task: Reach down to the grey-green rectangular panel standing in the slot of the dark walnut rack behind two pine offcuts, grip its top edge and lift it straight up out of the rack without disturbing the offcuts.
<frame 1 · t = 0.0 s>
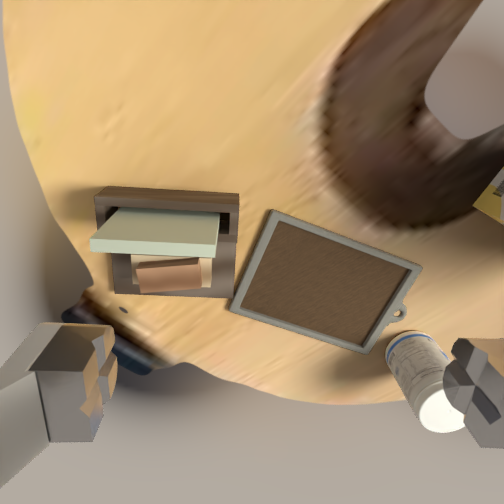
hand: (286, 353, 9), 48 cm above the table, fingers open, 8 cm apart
offcut upper: (171, 271, 57), point 4 cm above the table, touching offcut lower
grey-green rectangular panel: (174, 207, 57), resting in rack
rack: (174, 232, 58), on the table
supplement tub: (408, 348, 69), on the table
grey brown flat frame: (329, 287, 64), on the table
offcut lower: (174, 264, 59), point 1 cm above the table, touching offcut upper, rack
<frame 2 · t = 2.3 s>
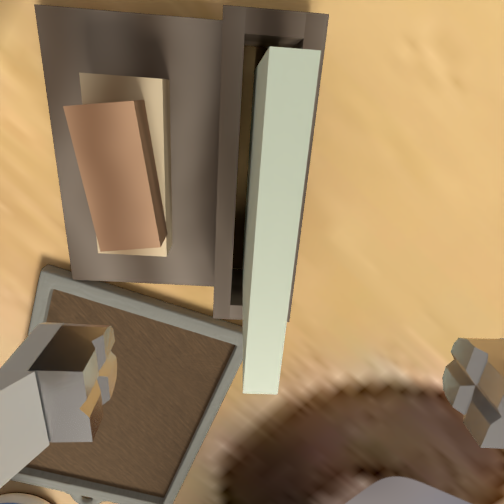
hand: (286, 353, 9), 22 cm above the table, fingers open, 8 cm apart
offcut upper: (127, 173, 25), point 4 cm above the table, touching offcut lower
grey-green rectangular panel: (258, 171, 29), resting in rack
rack: (206, 168, 29), on the table
grey brown flat frame: (117, 408, 39), on the table
offcut lower: (136, 166, 27), point 1 cm above the table, touching offcut upper, rack
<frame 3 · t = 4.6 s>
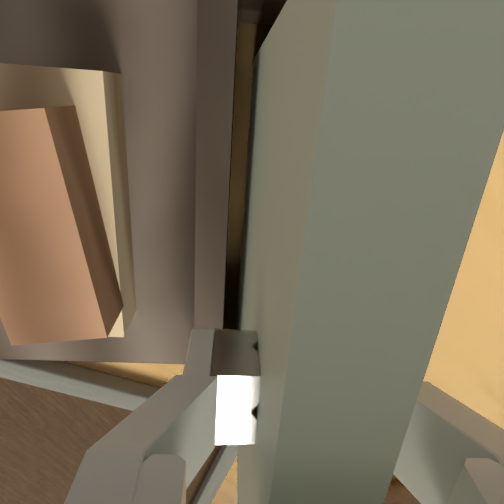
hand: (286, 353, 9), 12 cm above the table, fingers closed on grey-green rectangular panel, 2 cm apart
offcut upper: (55, 220, 16), point 4 cm above the table, touching offcut lower
grey-green rectangular panel: (258, 207, 20), resting in rack, touching gripper
rack: (183, 203, 20), on the table
offcut lower: (78, 204, 18), point 1 cm above the table, touching offcut upper, rack
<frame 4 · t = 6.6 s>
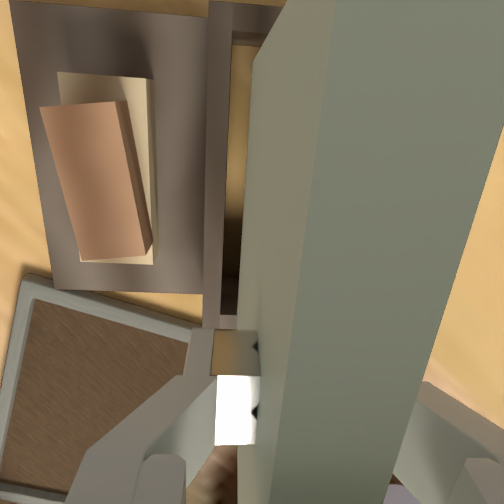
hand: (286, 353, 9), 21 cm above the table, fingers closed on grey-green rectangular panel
offcut upper: (110, 178, 24), point 4 cm above the table, touching offcut lower
grey-green rectangular panel: (258, 207, 20), point 9 cm above the table, touching gripper
rack: (194, 171, 28), on the table
grey brown flat frame: (104, 421, 38), on the table
offcut lower: (120, 170, 26), point 1 cm above the table, touching offcut upper, rack
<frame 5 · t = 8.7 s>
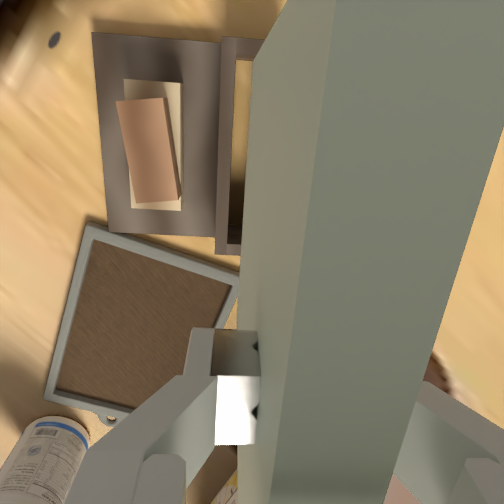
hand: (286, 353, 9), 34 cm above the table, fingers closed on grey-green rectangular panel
yellow product box: (248, 497, 63), on the table
offcut upper: (154, 149, 36), point 4 cm above the table, touching offcut lower
grey-green rectangular panel: (258, 208, 20), point 21 cm above the table, touching gripper
rack: (208, 147, 39), on the table
supplement tub: (60, 435, 55), on the table
grey brown flat frame: (138, 342, 50), on the table
offcut lower: (159, 145, 38), point 1 cm above the table, touching offcut upper, rack
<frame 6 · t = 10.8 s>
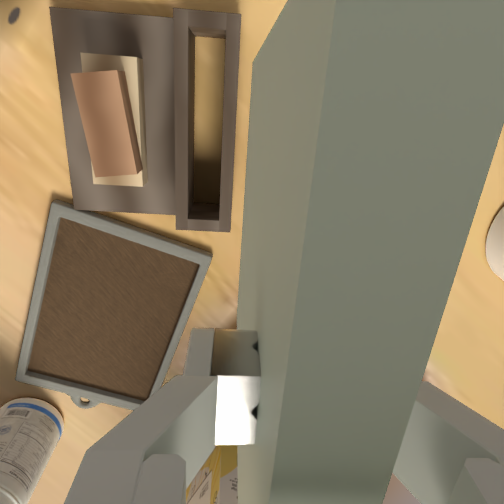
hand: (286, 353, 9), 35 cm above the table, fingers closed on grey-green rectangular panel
yellow product box: (224, 481, 63), on the table
offcut upper: (113, 124, 36), point 4 cm above the table, touching offcut lower
grey-green rectangular panel: (258, 208, 20), point 23 cm above the table, touching gripper
rack: (171, 124, 40), on the table
supplement tub: (34, 417, 55), on the table
grey brown flat frame: (109, 322, 50), on the table
offcut lower: (120, 122, 38), point 1 cm above the table, touching offcut upper, rack
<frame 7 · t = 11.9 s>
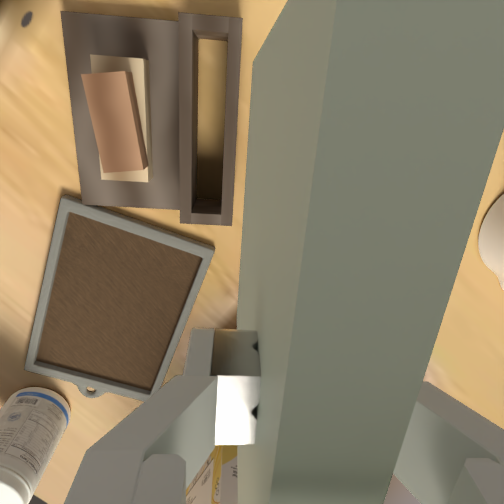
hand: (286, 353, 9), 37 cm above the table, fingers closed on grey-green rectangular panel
yellow product box: (226, 470, 65), on the table
offcut upper: (121, 122, 38), point 4 cm above the table, touching offcut lower
grey-green rectangular panel: (258, 208, 20), point 25 cm above the table, touching gripper
rack: (175, 123, 42), on the table
supplement tub: (42, 406, 57), on the table
grey brown flat frame: (115, 314, 52), on the table
offcut lower: (127, 120, 40), point 1 cm above the table, touching offcut upper, rack
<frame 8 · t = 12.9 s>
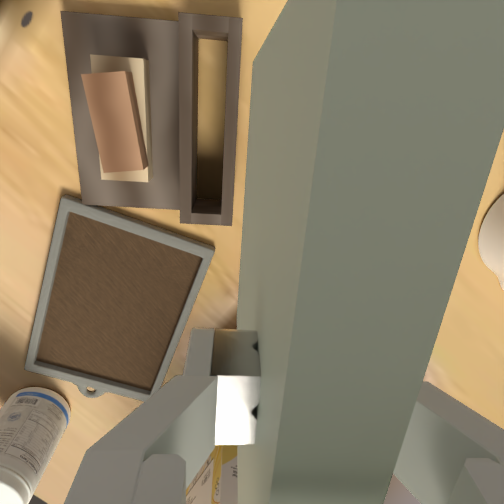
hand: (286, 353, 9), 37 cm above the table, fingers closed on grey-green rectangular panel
yellow product box: (226, 470, 65), on the table
offcut upper: (121, 122, 38), point 4 cm above the table, touching offcut lower
grey-green rectangular panel: (258, 208, 20), point 25 cm above the table, touching gripper
rack: (175, 123, 42), on the table
supplement tub: (42, 406, 57), on the table
grey brown flat frame: (115, 314, 52), on the table
offcut lower: (127, 120, 40), point 1 cm above the table, touching offcut upper, rack
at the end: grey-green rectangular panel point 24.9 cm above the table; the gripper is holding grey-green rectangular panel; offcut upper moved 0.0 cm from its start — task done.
